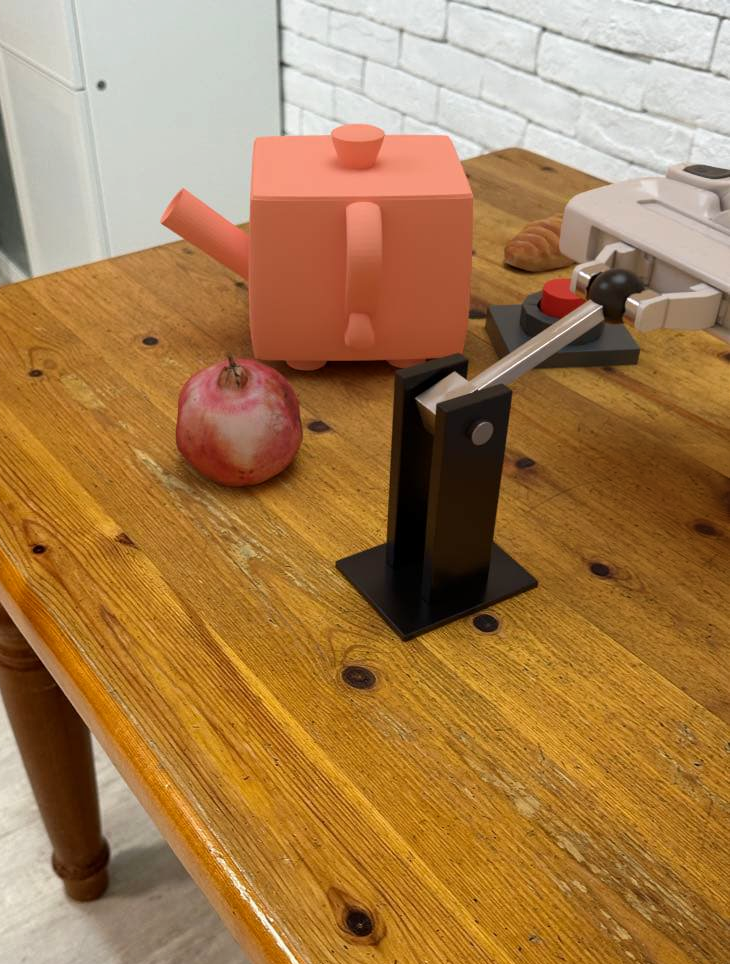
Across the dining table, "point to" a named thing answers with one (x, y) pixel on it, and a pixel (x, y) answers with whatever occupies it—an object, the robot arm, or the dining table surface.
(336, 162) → the teapot
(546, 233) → the pastry
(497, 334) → the button box
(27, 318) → the dining table surface
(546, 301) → the red push button
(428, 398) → the tap lever
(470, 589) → the bracket
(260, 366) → the fruit
